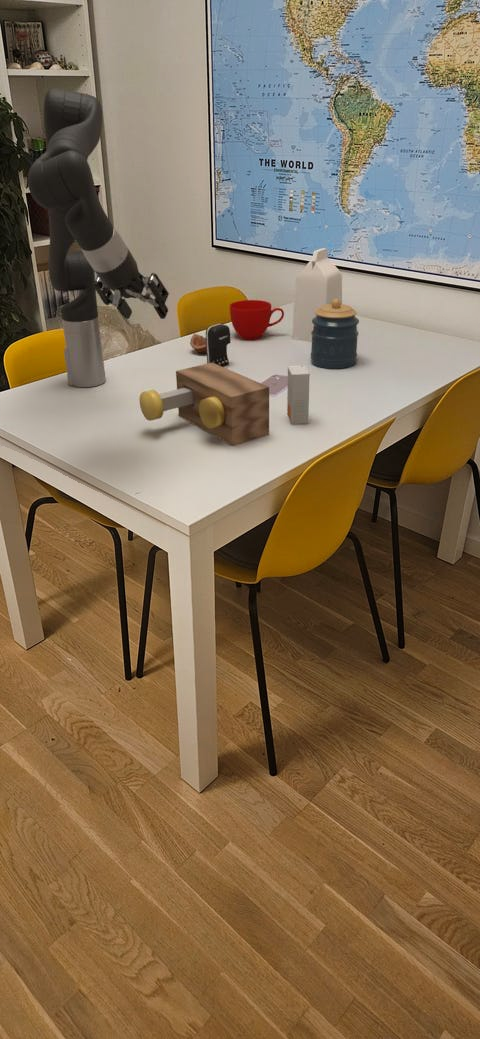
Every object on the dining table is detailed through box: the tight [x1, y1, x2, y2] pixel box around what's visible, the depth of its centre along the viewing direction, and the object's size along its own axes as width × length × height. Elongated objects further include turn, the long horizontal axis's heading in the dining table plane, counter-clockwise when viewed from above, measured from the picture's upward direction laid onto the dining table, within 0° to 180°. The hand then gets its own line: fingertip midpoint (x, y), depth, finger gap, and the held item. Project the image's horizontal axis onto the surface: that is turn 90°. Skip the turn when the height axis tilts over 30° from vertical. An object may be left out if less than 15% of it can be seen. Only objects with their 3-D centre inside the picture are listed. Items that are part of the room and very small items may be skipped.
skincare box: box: [286, 365, 311, 425], centre depth 163 cm, size 6×4×12 cm
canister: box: [310, 299, 360, 370], centre depth 198 cm, size 13×13×18 cm
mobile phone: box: [260, 374, 288, 398], centre depth 186 cm, size 8×1×15 cm
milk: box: [291, 247, 343, 343], centre depth 219 cm, size 12×12×26 cm
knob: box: [139, 387, 194, 422], centre depth 161 cm, size 15×6×6 cm, turn 126°
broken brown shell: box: [189, 333, 207, 354], centre depth 212 cm, size 8×7×5 cm
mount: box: [175, 362, 270, 447], centre depth 161 cm, size 13×22×11 cm, turn 36°
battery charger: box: [205, 323, 231, 367], centre depth 198 cm, size 7×4×11 cm, turn 138°
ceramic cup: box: [229, 299, 285, 341], centre depth 224 cm, size 13×17×10 cm
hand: (146, 315), depth 145 cm, fingers open, 8 cm apart
